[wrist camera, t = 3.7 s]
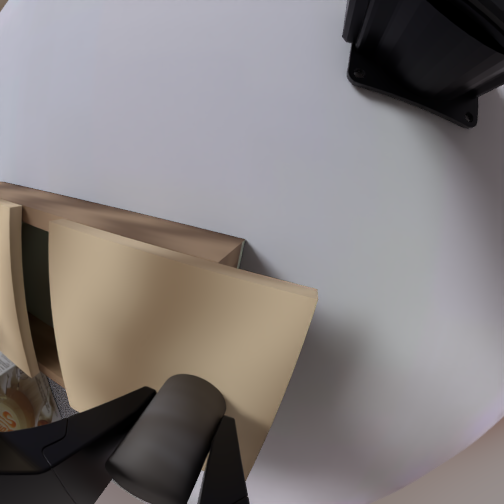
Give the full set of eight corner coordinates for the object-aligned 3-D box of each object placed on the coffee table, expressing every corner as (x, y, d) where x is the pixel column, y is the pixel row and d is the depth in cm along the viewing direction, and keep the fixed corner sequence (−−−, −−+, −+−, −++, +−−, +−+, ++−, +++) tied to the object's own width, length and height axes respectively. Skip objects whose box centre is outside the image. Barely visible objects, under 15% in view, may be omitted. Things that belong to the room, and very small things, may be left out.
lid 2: (317, 289, 8) (323, 408, 3) (248, 470, 11) (223, 552, 6) (63, 218, 10) (-41, 242, 5) (78, 398, 12) (25, 449, 7)
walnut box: (245, 239, 13) (218, 262, 9) (211, 403, 15) (188, 451, 11) (2, 181, 15) (-37, 185, 11) (5, 297, 18) (-26, 311, 14)
